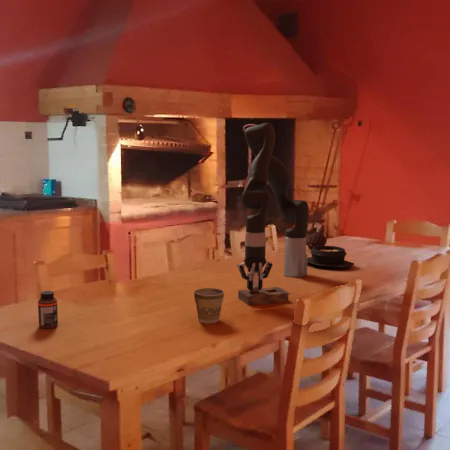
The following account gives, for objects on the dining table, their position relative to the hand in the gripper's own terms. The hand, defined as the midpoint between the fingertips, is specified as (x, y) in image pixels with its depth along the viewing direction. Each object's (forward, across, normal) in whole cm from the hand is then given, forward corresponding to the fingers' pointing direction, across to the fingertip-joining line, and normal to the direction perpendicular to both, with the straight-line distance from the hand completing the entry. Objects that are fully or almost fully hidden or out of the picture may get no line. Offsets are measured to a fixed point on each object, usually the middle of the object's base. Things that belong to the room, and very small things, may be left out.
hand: (254, 289), depth 235 cm
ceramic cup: (+5, +22, +16) cm, 28 cm away
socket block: (+5, -4, 0) cm, 6 cm away
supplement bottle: (+5, +74, +6) cm, 75 cm away
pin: (+3, 0, 0) cm, 3 cm away
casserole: (+5, -58, -47) cm, 74 cm away
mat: (+5, -12, -10) cm, 17 cm away
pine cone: (+5, -70, -82) cm, 108 cm away
